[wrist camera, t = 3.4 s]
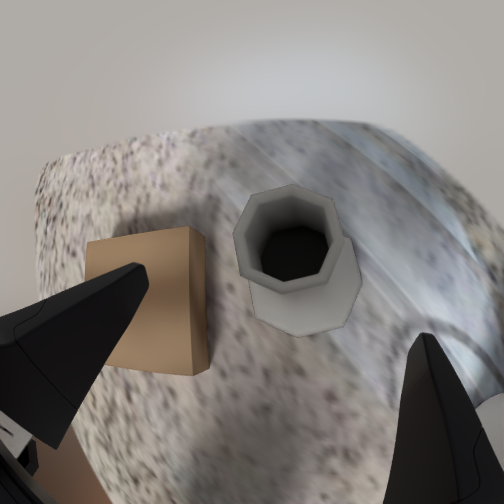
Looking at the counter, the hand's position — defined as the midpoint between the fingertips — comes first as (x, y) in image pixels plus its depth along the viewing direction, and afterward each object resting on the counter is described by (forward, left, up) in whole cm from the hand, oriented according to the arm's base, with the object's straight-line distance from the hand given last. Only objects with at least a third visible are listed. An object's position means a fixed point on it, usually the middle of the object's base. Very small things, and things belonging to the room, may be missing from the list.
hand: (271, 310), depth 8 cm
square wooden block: (+1, +10, -10) cm, 14 cm away
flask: (+2, -1, -10) cm, 10 cm away
